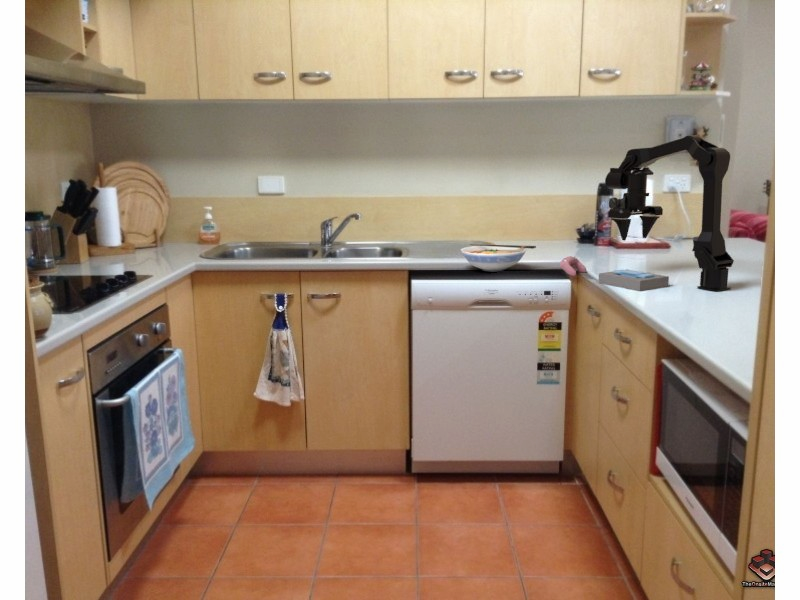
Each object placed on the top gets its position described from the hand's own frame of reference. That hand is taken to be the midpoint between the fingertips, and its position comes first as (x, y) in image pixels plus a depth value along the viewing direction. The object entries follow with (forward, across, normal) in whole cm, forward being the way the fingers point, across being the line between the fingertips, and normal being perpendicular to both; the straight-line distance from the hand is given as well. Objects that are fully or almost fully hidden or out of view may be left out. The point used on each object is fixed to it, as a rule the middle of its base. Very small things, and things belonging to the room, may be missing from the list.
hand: (634, 239), depth 212 cm
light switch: (+12, +11, +10) cm, 19 cm away
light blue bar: (+12, +11, +10) cm, 19 cm away
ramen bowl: (+12, +28, -37) cm, 48 cm away
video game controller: (+12, +12, -15) cm, 23 cm away
